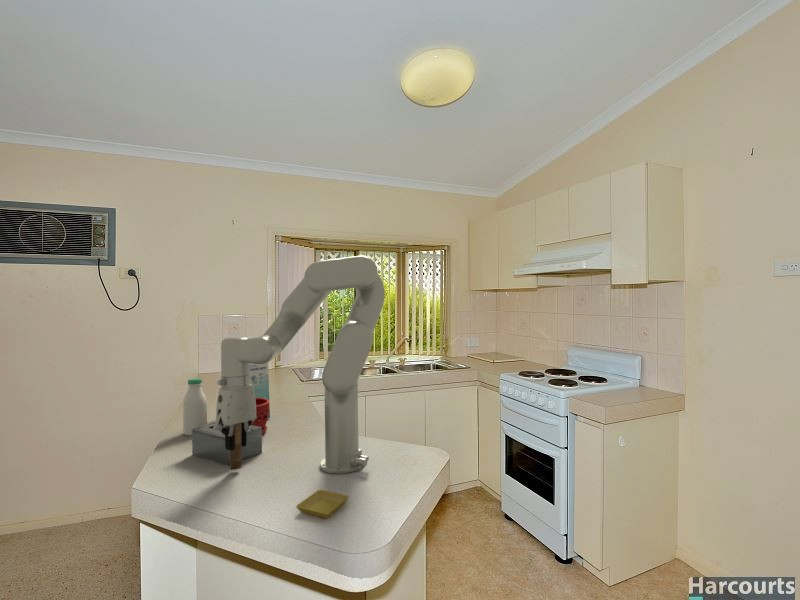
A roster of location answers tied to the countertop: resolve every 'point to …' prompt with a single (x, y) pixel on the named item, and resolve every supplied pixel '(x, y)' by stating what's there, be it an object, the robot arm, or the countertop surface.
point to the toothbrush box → (260, 380)
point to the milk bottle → (194, 407)
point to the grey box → (223, 444)
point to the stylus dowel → (236, 448)
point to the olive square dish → (322, 503)
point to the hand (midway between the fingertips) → (236, 446)
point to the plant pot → (261, 413)
